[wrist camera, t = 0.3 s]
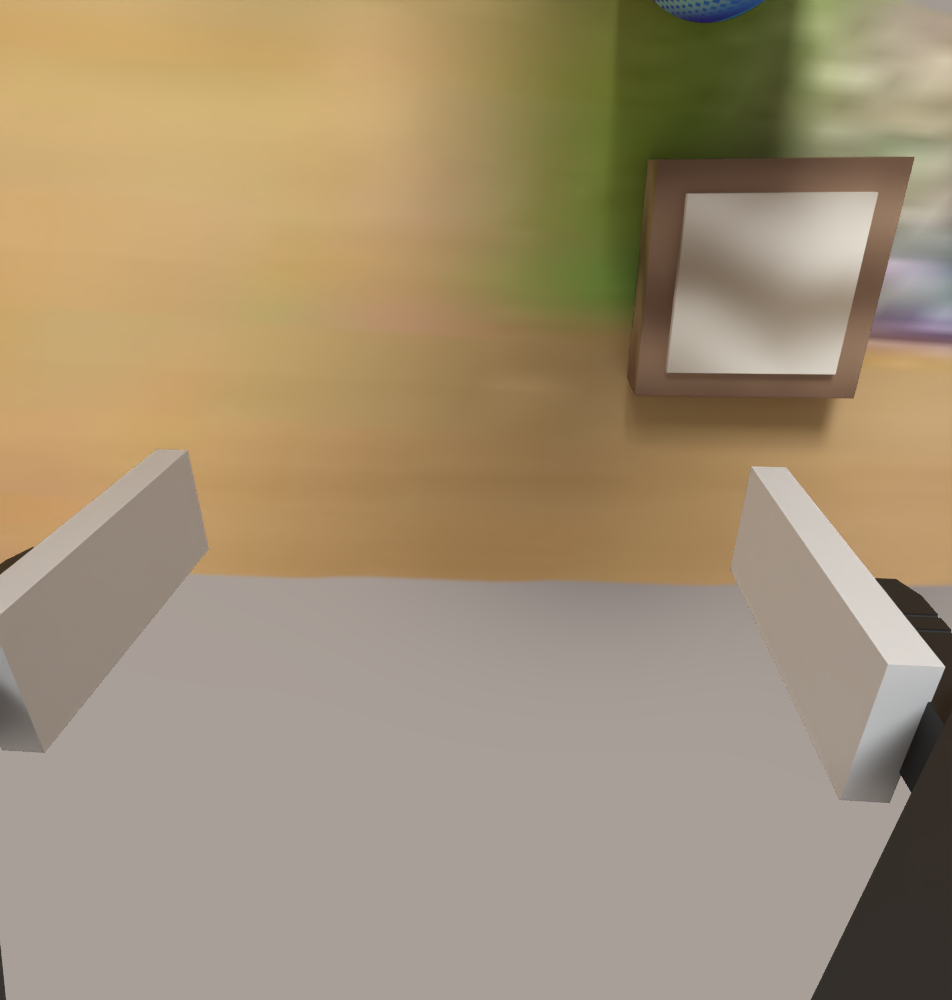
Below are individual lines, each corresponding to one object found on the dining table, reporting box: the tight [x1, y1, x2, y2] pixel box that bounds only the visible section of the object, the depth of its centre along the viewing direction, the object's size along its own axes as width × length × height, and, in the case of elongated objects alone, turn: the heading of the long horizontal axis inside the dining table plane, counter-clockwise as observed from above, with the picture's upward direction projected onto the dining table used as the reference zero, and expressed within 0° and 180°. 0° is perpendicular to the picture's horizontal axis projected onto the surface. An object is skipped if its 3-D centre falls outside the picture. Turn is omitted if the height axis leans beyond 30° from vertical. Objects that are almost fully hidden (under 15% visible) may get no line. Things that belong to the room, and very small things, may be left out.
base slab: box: [628, 157, 914, 398], centre depth 37 cm, size 12×12×4 cm
